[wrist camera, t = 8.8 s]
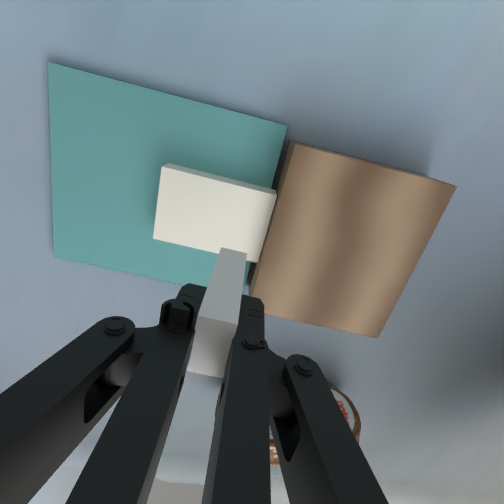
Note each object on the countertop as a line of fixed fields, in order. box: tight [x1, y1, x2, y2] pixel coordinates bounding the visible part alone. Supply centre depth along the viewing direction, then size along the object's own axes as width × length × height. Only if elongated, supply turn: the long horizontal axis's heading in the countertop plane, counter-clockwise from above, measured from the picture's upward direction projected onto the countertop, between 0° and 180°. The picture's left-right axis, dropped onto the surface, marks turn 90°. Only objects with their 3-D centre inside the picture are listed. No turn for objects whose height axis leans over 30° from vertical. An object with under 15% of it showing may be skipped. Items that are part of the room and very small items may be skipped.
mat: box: [48, 62, 288, 294], centre depth 26 cm, size 18×16×1 cm
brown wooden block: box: [249, 141, 457, 338], centre depth 25 cm, size 12×14×4 cm
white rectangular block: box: [153, 163, 277, 263], centre depth 25 cm, size 9×6×2 cm, turn 76°
